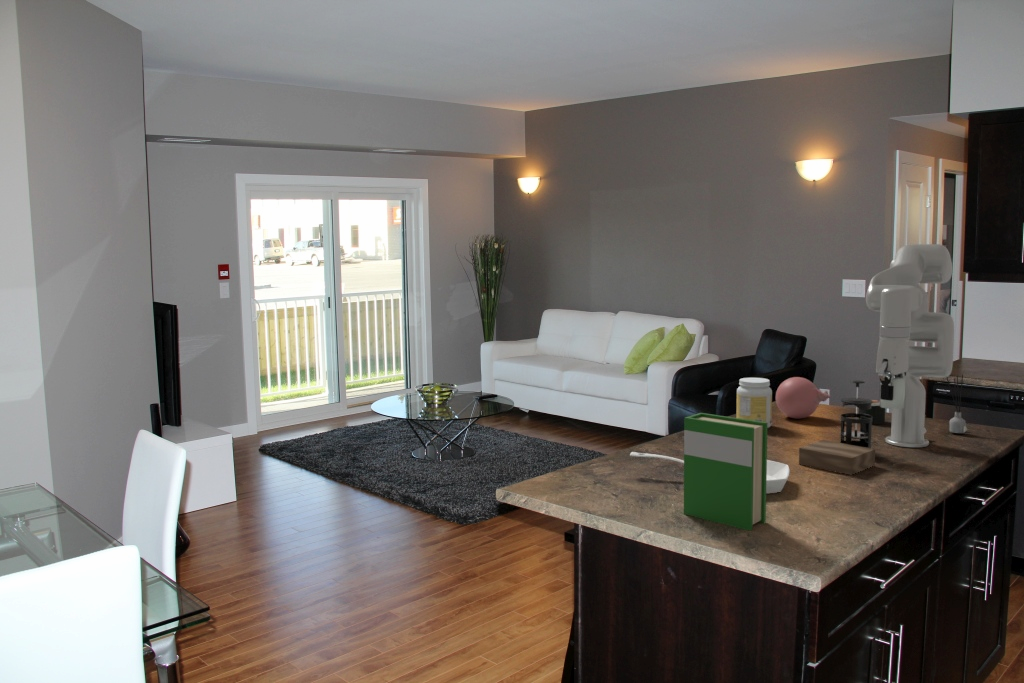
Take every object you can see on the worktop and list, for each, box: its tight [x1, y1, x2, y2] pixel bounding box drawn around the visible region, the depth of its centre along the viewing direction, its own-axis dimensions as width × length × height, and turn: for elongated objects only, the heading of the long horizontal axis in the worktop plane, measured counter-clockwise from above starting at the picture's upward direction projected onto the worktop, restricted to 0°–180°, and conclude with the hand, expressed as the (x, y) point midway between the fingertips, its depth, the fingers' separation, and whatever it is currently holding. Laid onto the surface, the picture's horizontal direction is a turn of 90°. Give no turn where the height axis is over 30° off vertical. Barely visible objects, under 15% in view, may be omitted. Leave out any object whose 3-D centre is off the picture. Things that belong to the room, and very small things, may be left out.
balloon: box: [775, 376, 832, 420], centre depth 297 cm, size 15×20×15 cm
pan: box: [629, 451, 791, 495], centre depth 224 cm, size 28×43×7 cm, turn 70°
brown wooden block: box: [798, 439, 876, 476], centre depth 236 cm, size 14×16×5 cm
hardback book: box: [683, 412, 768, 532], centre depth 192 cm, size 18×7×24 cm, turn 46°
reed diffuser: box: [945, 374, 968, 434], centre depth 271 cm, size 10×7×20 cm
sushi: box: [858, 399, 886, 425], centre depth 290 cm, size 8×8×8 cm
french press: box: [839, 379, 873, 449], centre depth 247 cm, size 12×9×23 cm
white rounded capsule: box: [879, 377, 905, 410], centre depth 221 cm, size 6×6×8 cm
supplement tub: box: [735, 377, 773, 429], centre depth 287 cm, size 12×12×17 cm
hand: (892, 397), depth 221 cm, fingers closed on white rounded capsule, 6 cm apart
